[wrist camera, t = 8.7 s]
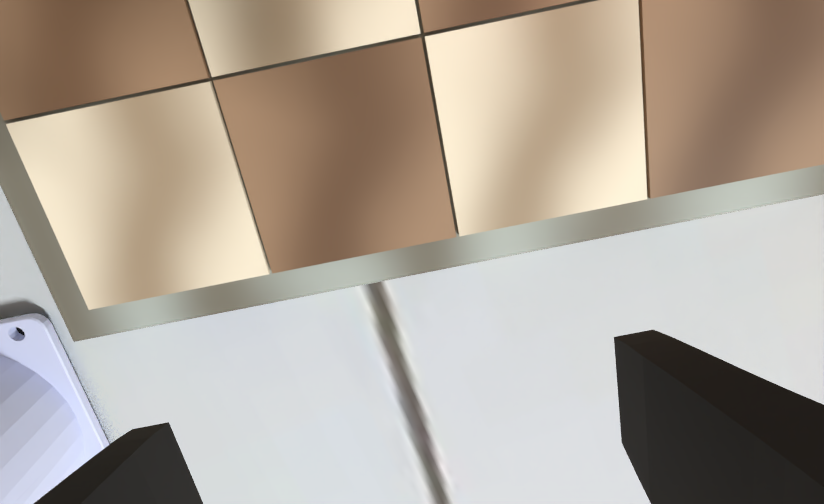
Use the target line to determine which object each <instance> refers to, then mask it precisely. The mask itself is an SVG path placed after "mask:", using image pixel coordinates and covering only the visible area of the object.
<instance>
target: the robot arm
mask: <svg viewBox="0 0 824 504" xmlns="http://www.w3.org/2000/svg"><path fill="white" fill-rule="evenodd" d="M16 327H18V328H20V329H22V330H23V332H24V333H25V335H22V334H20V333H19V332H18V331H17V329H16ZM614 343H615V356H616V370H617V383H618V397H619V410H620V423H621V437H622V444H623V446H624V448H625V450H626V452H627V455H628V457H629V459H630V461H631V463H632V465H633V467H634V470H635V472H636V474H637V476H638V478H639V480H640V482H641V484H642V486H643V488H644V490H645V492H646V494H647V496H648V498H649V500H650V502H651V504H824V405H823V404H821V403H818V402H816V401H813V400H811V399H809V398H806V397H804V396H801V395H799V394H797V393H794V392H792V391H790V390H788V389H785V388H783V387H781V386H778V385H776V384H774V383H772V382H769V381H767V380H765V379H763V378H760V377H758V376H756V375H754V374H751V373H749V372H747V371H745V370H743V369H740V368H738V367H736V366H734V365H732V364H729V363H727V362H725V361H723V360H721V359H719V358H716V357H714V356H712V355H710V354H708V353H706V352H703V351H701V350H699V349H697V348H695V347H692V346H690V345H688V344H686V343H684V342H681V341H679V340H677V339H675V338H672V337H670V336H668V335H665V334H663V333H660V332H658V331H655V330H649V331H644V332H639V333H633V334H628V335H623V336H618V337H614ZM0 504H203V502H202V500H201V497H200V495H199V493H198V490H197V488H196V486H195V483H194V481H193V479H192V476H191V474H190V471H189V469H188V467H187V464H186V462H185V460H184V457H183V455H182V453H181V450H180V448H179V446H178V443H177V441H176V438H175V436H174V434H173V431H172V429H171V427H170V424H169V423H163V424H158V425H153V426H148V427H142V428H137V429H132V430H131V431H129V432H127V433H126V434H124V435H123V436H121V437H120V438H118V439H117V440H115V441H114V442H113V443H111V444H110V445H109V442H108V440H107V438H106V436H105V434H104V432H103V430H102V428H101V426H100V424H99V422H98V419H97V417H96V415H95V413H94V411H93V409H92V407H91V405H90V403H89V401H88V399H87V396H86V394H85V392H84V390H83V388H82V386H81V384H80V382H79V380H78V378H77V376H76V373H75V371H74V369H73V367H72V365H71V363H70V361H69V359H68V357H67V355H66V353H65V350H64V348H63V346H62V344H61V342H60V340H59V338H58V336H57V334H56V332H55V330H54V327H53V325H52V323H51V322H50V321H49V319H48V318H46V317H45V316H43V315H41V314H38V313H31V314H26V315H21V316H16V317H11V318H6V319H1V320H0Z"/></svg>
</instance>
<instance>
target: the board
mask: <svg viewBox="0 0 824 504" xmlns="http://www.w3.org/2000/svg"><path fill="white" fill-rule="evenodd" d="M0 185H1V187H2V189H3V192H4V194H5V196H6V198H7V200H8V202H9V204H10V207H11V209H12V211H13V213H14V215H15V217H16V219H17V222H18V224H19V226H20V228H21V230H22V232H23V234H24V236H25V239H26V241H27V243H28V245H29V247H30V249H31V251H32V254H33V256H34V258H35V260H36V262H37V264H38V266H39V268H40V271H41V273H42V275H43V277H44V279H45V281H46V283H47V286H48V288H49V290H50V292H51V294H52V296H53V298H54V300H55V303H56V305H57V307H58V309H59V311H60V313H61V315H62V318H63V320H64V322H65V324H66V326H67V328H68V330H69V333H70V335H71V337H72V339H73V341H74V342H75V341H80V340H85V339H90V338H95V337H100V336H105V335H110V334H116V333H121V332H126V331H131V330H136V329H141V328H146V327H151V326H156V325H161V324H166V323H172V322H177V321H182V320H187V319H192V318H197V317H202V316H207V315H212V314H217V313H222V312H227V311H233V310H238V309H243V308H248V307H253V306H258V305H263V304H268V303H273V302H278V301H283V300H288V299H294V298H299V297H304V296H309V295H314V294H319V293H324V292H329V291H334V290H339V289H344V288H349V287H355V286H360V285H365V284H370V283H375V282H380V281H385V280H390V279H395V278H400V277H405V276H410V275H416V274H421V273H426V272H431V271H436V270H441V269H446V268H451V267H456V266H461V265H466V264H471V263H477V262H482V261H487V260H492V259H497V258H502V257H507V256H512V255H517V254H522V253H527V252H532V251H538V250H543V249H548V248H553V247H558V246H563V245H568V244H573V243H578V242H583V241H588V240H593V239H599V238H604V237H609V236H614V235H619V234H624V233H629V232H634V231H639V230H644V229H649V228H654V227H660V226H665V225H670V224H675V223H680V222H685V221H690V220H695V219H700V218H705V217H710V216H715V215H721V214H726V213H731V212H736V211H741V210H746V209H751V208H756V207H761V206H766V205H771V204H776V203H782V202H787V201H792V200H797V199H802V198H807V197H812V196H817V195H822V194H824V0H0Z"/></svg>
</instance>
